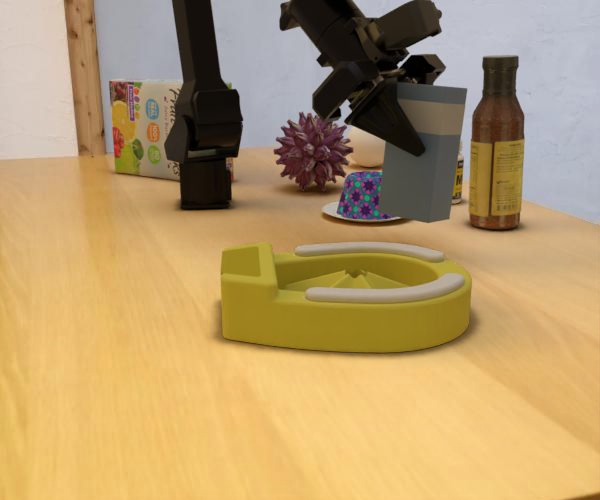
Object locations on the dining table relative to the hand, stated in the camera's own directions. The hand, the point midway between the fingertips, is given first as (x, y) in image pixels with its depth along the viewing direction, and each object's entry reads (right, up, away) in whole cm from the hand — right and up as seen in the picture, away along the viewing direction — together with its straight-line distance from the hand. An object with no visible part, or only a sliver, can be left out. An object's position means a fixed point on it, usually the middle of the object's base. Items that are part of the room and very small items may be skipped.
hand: (433, 150), depth 78 cm
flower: (-11, +1, +39) cm, 41 cm away
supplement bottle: (+7, -1, +32) cm, 32 cm away
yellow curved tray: (-9, -16, -11) cm, 22 cm away
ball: (-1, +8, +57) cm, 58 cm away
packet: (-2, -6, +3) cm, 7 cm away
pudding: (-4, -4, +24) cm, 25 cm away
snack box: (-34, +5, +49) cm, 60 cm away
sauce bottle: (+10, -6, +19) cm, 22 cm away
